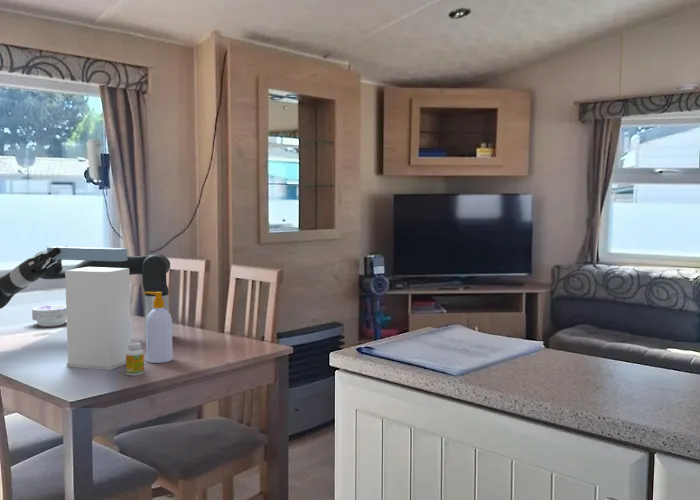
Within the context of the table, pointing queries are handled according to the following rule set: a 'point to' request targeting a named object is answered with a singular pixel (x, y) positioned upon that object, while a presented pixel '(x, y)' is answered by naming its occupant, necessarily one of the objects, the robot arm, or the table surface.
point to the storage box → (97, 317)
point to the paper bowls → (50, 315)
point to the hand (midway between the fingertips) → (63, 249)
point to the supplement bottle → (134, 359)
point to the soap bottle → (159, 332)
